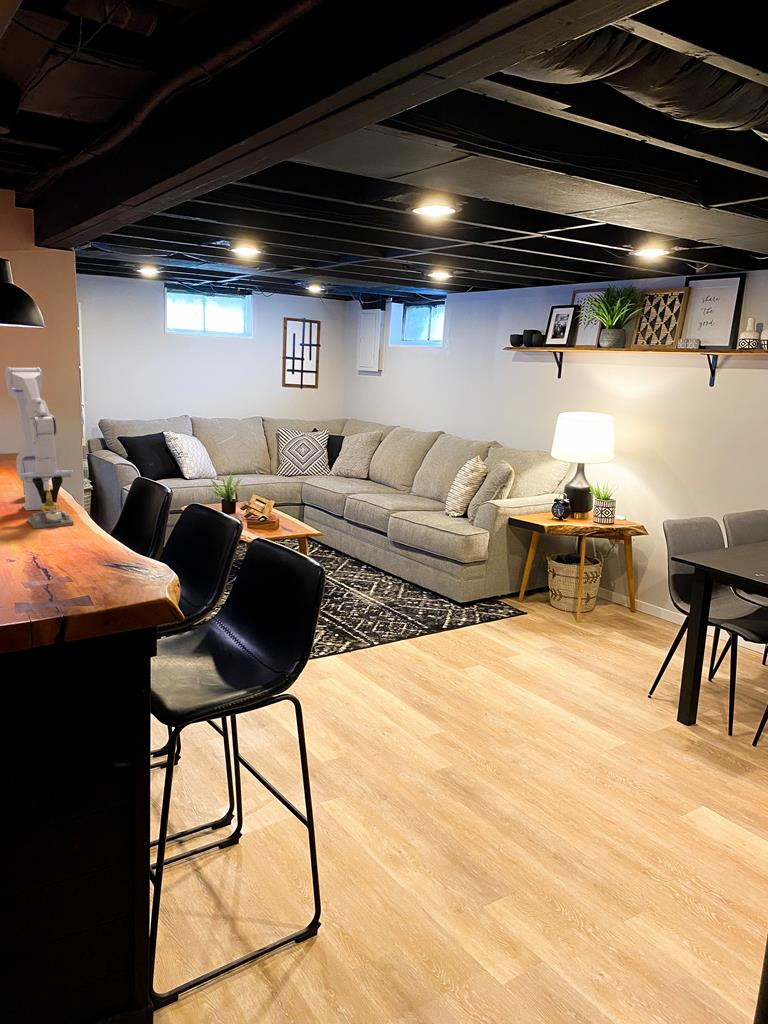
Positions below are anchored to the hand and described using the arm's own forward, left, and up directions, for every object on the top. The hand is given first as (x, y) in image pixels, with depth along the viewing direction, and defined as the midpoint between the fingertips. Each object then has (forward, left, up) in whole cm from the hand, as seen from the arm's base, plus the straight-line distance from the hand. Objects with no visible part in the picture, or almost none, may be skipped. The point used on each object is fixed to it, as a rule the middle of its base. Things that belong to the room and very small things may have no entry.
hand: (49, 502), depth 228 cm
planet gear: (0, 0, -2) cm, 2 cm away
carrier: (+10, -1, -4) cm, 11 cm away
